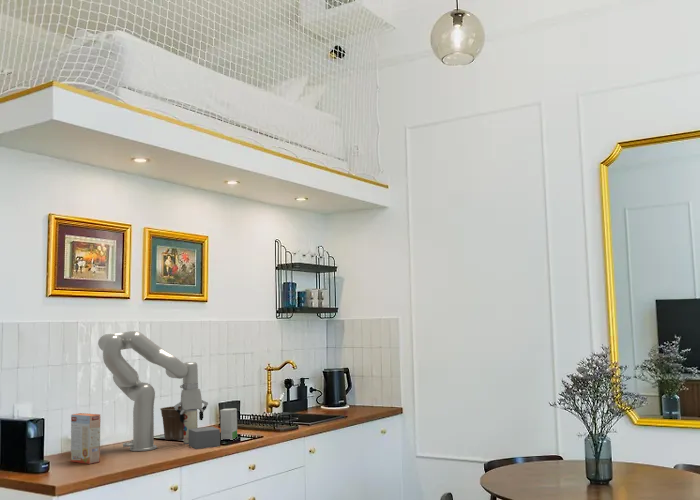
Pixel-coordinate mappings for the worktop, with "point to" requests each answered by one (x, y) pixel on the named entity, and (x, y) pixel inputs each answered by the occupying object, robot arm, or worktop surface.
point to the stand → (204, 437)
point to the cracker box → (85, 438)
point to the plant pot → (172, 423)
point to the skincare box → (228, 423)
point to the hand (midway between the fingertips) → (191, 421)
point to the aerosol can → (189, 423)
